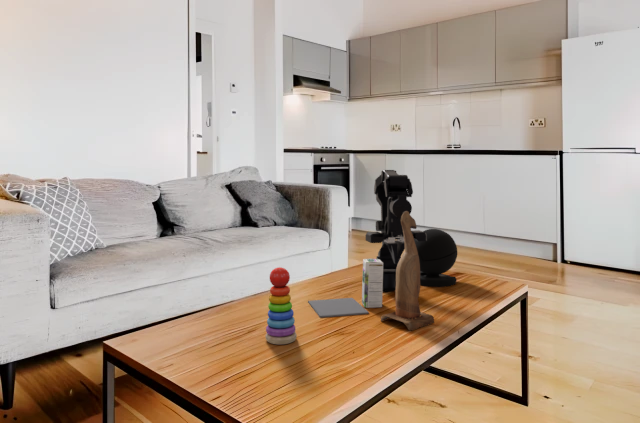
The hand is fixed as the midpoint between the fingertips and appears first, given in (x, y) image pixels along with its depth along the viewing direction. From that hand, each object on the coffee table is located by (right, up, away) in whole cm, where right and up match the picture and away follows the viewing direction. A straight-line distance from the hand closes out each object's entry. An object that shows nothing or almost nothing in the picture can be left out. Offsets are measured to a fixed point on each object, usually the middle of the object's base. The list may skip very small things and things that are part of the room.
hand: (395, 263), depth 157 cm
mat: (-19, -13, -3) cm, 23 cm away
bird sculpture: (+1, -15, -17) cm, 23 cm away
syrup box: (-8, -13, -1) cm, 15 cm away
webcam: (+19, -10, +30) cm, 37 cm away
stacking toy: (-34, -17, -31) cm, 49 cm away
